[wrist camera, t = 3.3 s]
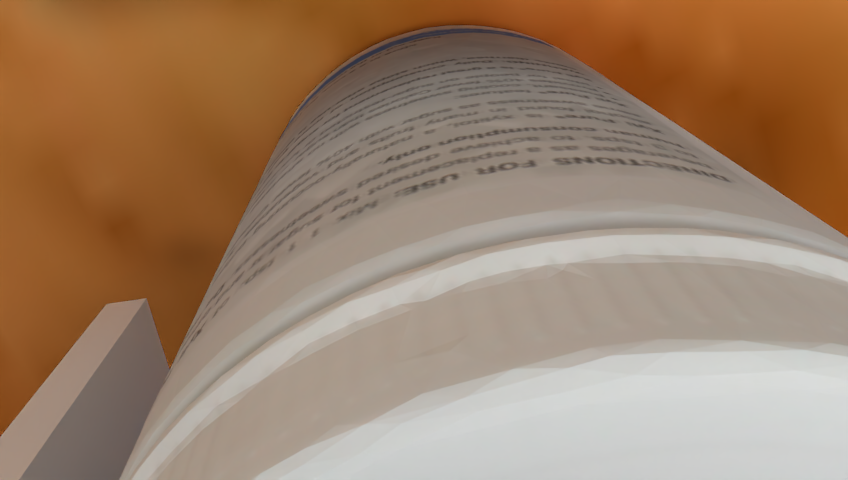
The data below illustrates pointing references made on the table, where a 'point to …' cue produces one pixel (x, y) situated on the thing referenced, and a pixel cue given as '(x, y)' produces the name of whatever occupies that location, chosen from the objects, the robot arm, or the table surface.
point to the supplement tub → (506, 292)
